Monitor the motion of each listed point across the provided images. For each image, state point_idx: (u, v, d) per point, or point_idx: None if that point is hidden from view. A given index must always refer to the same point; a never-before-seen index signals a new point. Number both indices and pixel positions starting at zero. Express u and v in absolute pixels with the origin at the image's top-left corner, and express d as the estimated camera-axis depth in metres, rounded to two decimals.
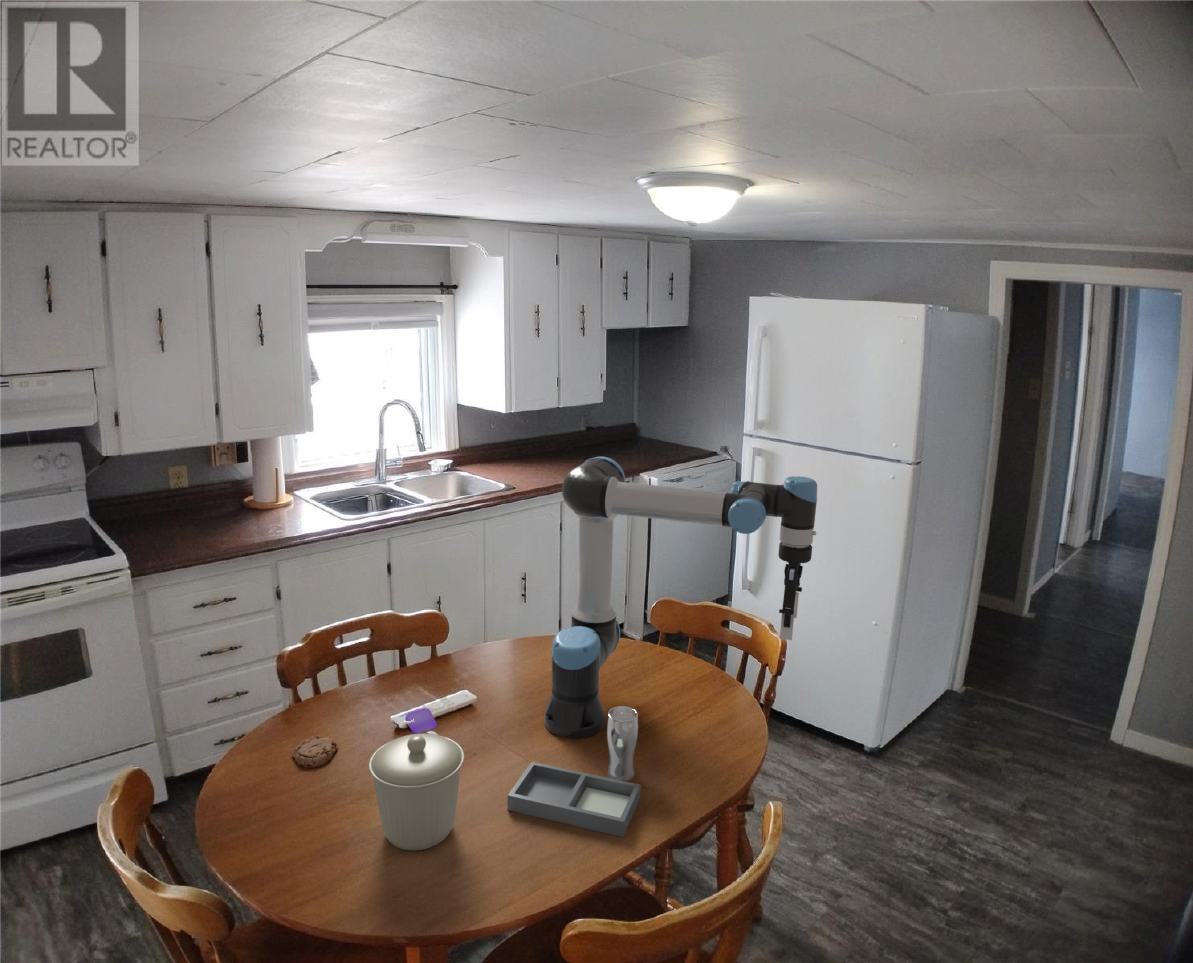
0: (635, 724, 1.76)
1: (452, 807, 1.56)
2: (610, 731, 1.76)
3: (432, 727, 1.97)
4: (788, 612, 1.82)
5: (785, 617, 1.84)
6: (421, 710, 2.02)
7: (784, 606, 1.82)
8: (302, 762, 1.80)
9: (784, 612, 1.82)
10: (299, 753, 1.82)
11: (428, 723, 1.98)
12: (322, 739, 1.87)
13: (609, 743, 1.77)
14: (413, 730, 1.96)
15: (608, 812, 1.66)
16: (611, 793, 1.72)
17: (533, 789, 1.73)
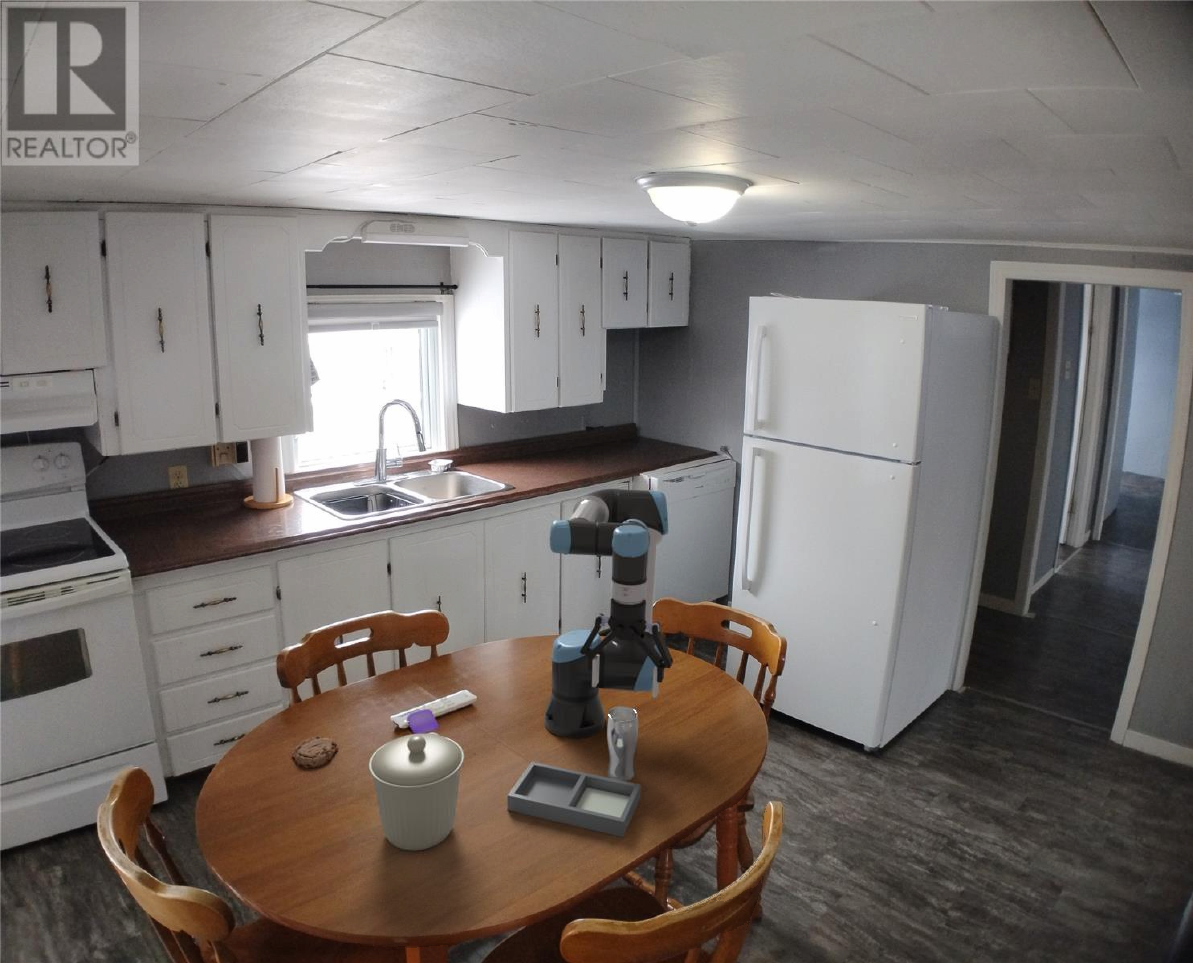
0: (635, 724, 1.76)
1: (452, 807, 1.56)
2: (610, 731, 1.76)
3: (434, 728, 1.97)
4: None
5: None
6: (423, 711, 2.01)
7: None
8: (302, 762, 1.80)
9: None
10: (299, 753, 1.82)
11: (429, 725, 1.98)
12: (322, 739, 1.87)
13: (609, 743, 1.77)
14: (414, 731, 1.95)
15: (608, 812, 1.66)
16: (611, 793, 1.72)
17: (533, 789, 1.73)
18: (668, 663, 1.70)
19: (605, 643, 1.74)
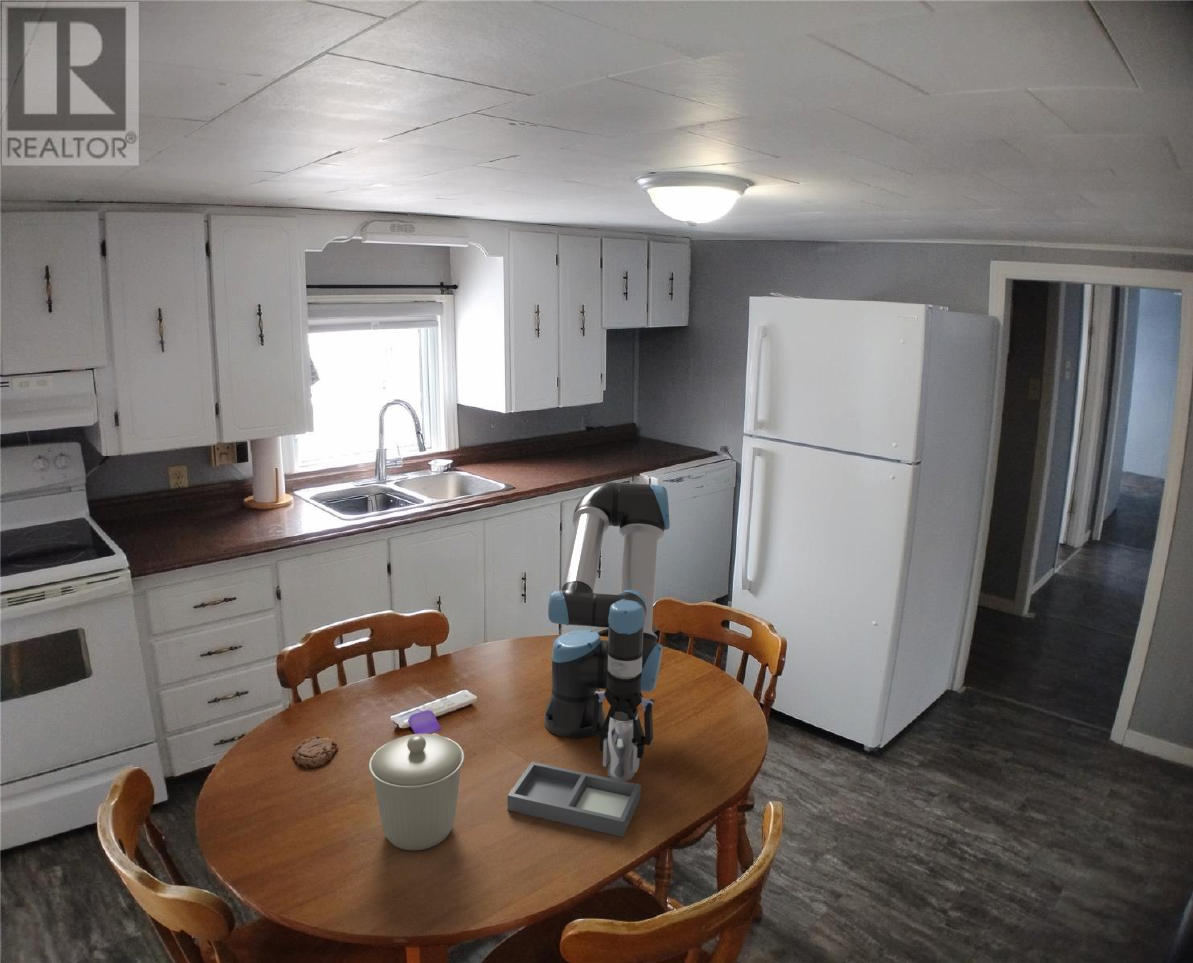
0: None
1: (452, 807, 1.56)
2: (610, 731, 1.76)
3: (435, 729, 1.97)
4: None
5: None
6: (424, 712, 2.01)
7: None
8: (302, 762, 1.80)
9: None
10: (299, 753, 1.82)
11: (431, 726, 1.97)
12: (322, 739, 1.87)
13: (609, 743, 1.77)
14: (416, 732, 1.95)
15: (608, 812, 1.66)
16: (611, 793, 1.72)
17: (533, 789, 1.73)
18: (648, 741, 1.75)
19: None
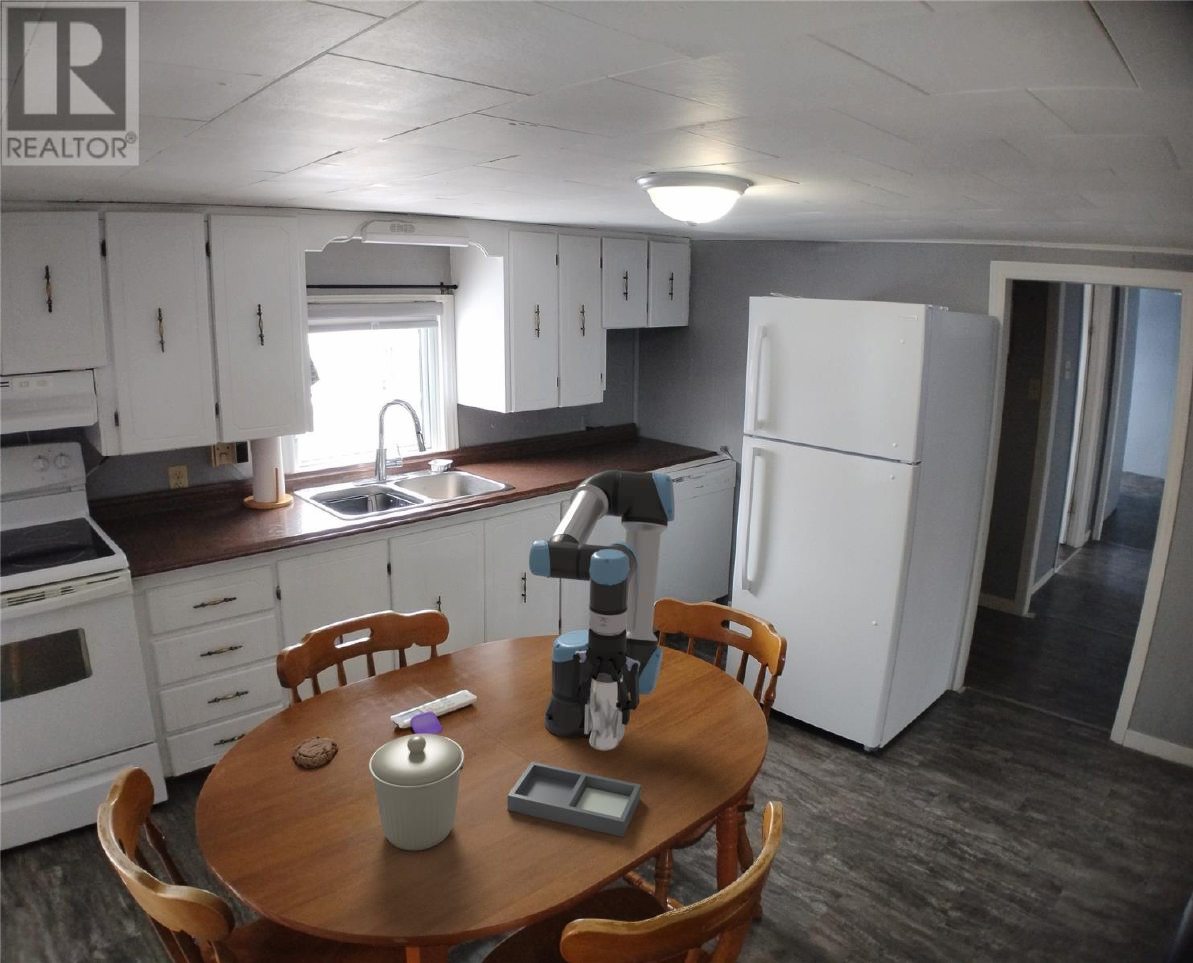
0: None
1: (452, 807, 1.56)
2: (592, 694, 1.59)
3: (437, 731, 1.96)
4: None
5: None
6: (426, 714, 2.00)
7: None
8: (302, 762, 1.80)
9: None
10: (299, 753, 1.82)
11: (433, 727, 1.97)
12: (322, 739, 1.87)
13: (591, 708, 1.60)
14: None
15: (608, 812, 1.66)
16: (611, 793, 1.72)
17: (533, 789, 1.73)
18: (634, 705, 1.59)
19: None
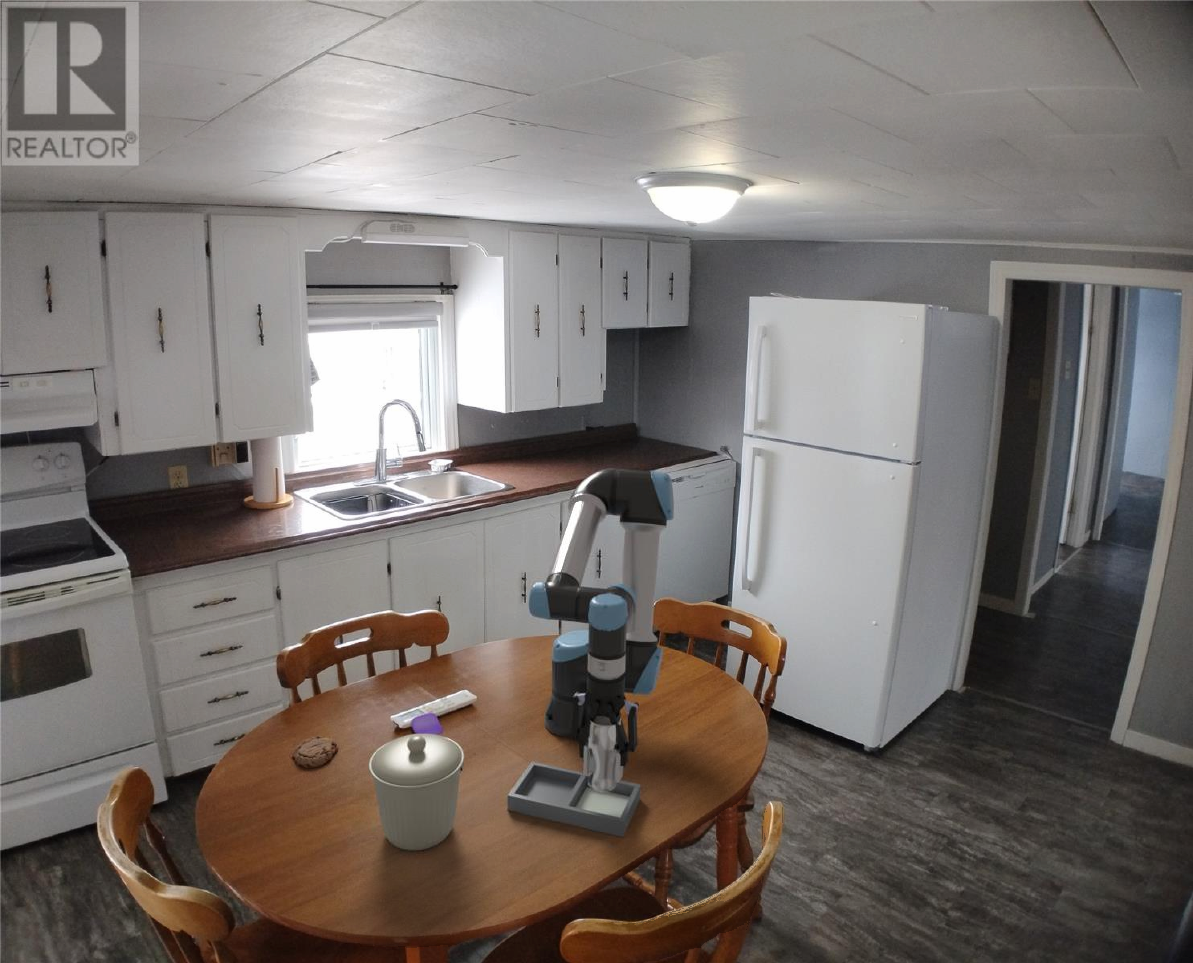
0: None
1: (452, 807, 1.56)
2: (591, 737, 1.61)
3: (438, 732, 1.95)
4: None
5: None
6: (427, 715, 2.00)
7: None
8: (302, 762, 1.80)
9: None
10: (299, 753, 1.82)
11: (433, 729, 1.96)
12: (322, 739, 1.87)
13: (590, 750, 1.63)
14: None
15: (608, 812, 1.66)
16: (611, 793, 1.72)
17: (533, 789, 1.73)
18: (632, 747, 1.61)
19: None
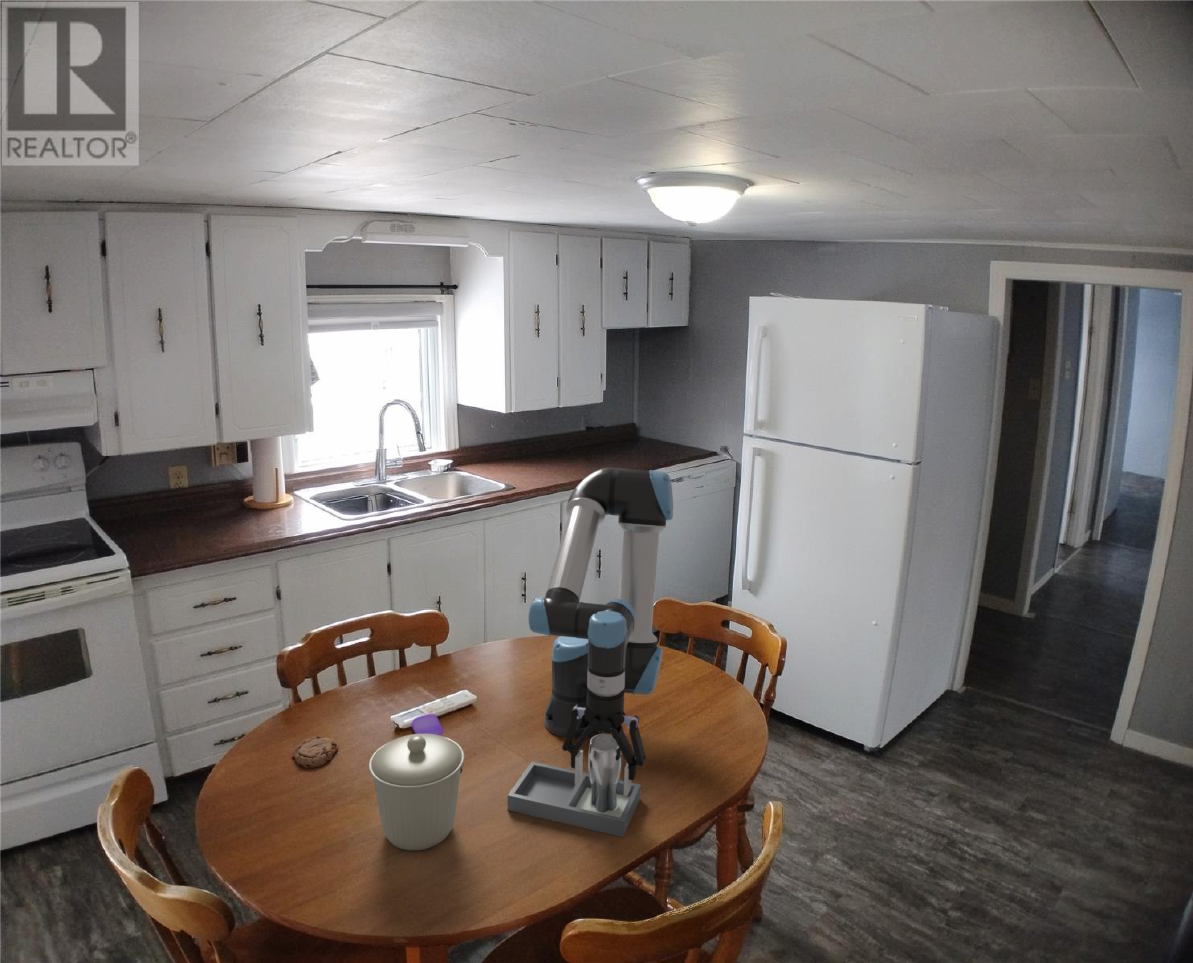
0: (618, 754, 1.62)
1: (452, 807, 1.56)
2: (591, 761, 1.63)
3: (438, 733, 1.95)
4: None
5: None
6: (428, 716, 1.99)
7: None
8: (302, 762, 1.80)
9: None
10: (299, 753, 1.82)
11: (434, 730, 1.96)
12: (322, 739, 1.87)
13: (591, 774, 1.64)
14: None
15: None
16: None
17: (533, 789, 1.73)
18: (640, 761, 1.61)
19: (585, 737, 1.64)
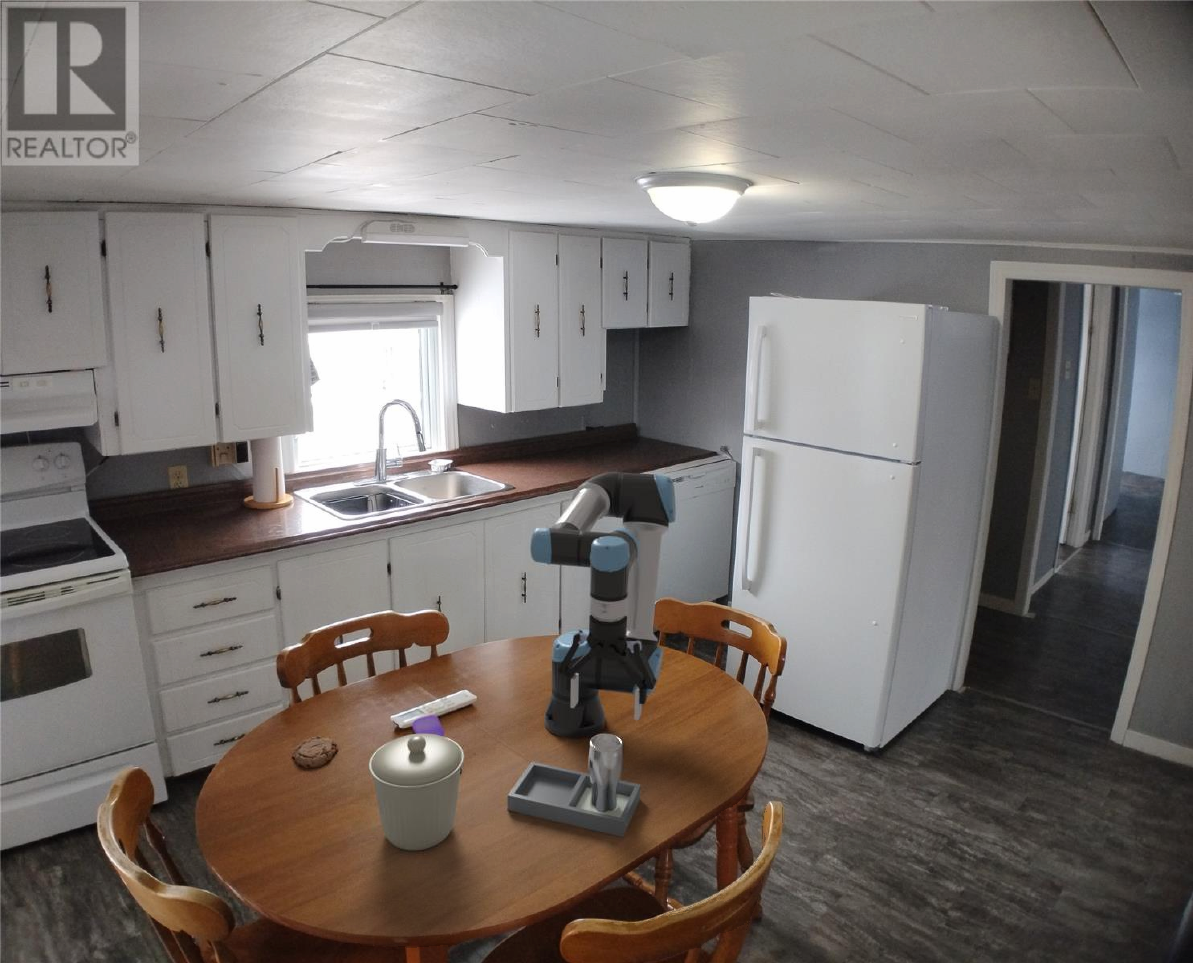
0: (619, 754, 1.62)
1: (452, 807, 1.56)
2: (592, 761, 1.63)
3: (439, 735, 1.94)
4: None
5: None
6: (429, 717, 1.99)
7: None
8: (301, 762, 1.80)
9: None
10: (299, 753, 1.82)
11: (435, 731, 1.95)
12: (322, 739, 1.87)
13: (591, 774, 1.64)
14: None
15: None
16: None
17: (533, 789, 1.73)
18: (651, 684, 1.59)
19: (584, 662, 1.62)
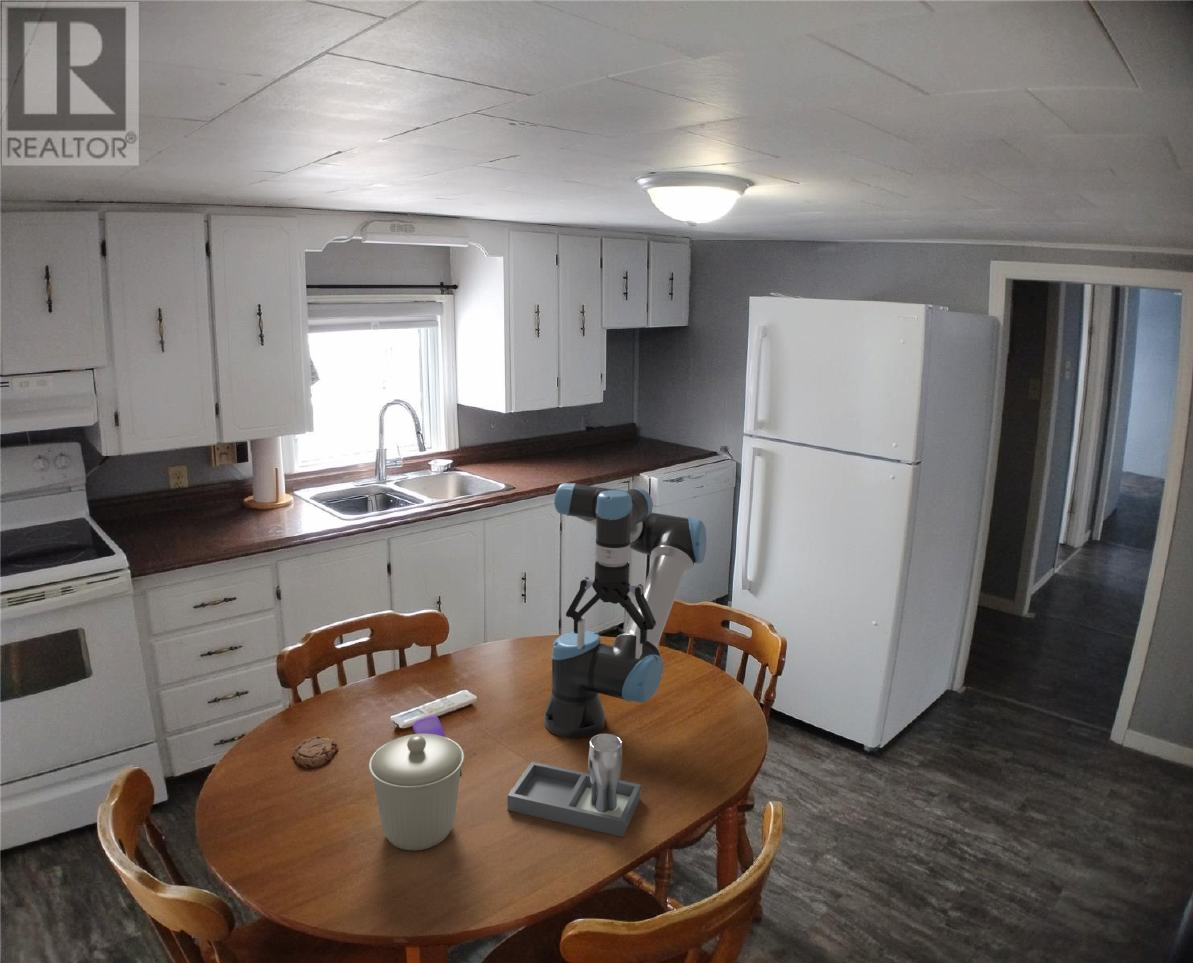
0: (619, 754, 1.63)
1: (452, 807, 1.56)
2: (592, 761, 1.63)
3: None
4: None
5: None
6: (429, 718, 1.98)
7: None
8: (301, 762, 1.80)
9: None
10: (299, 753, 1.82)
11: (435, 732, 1.94)
12: (322, 739, 1.87)
13: (591, 774, 1.64)
14: None
15: None
16: None
17: (533, 789, 1.73)
18: (651, 625, 1.75)
19: (590, 605, 1.78)
